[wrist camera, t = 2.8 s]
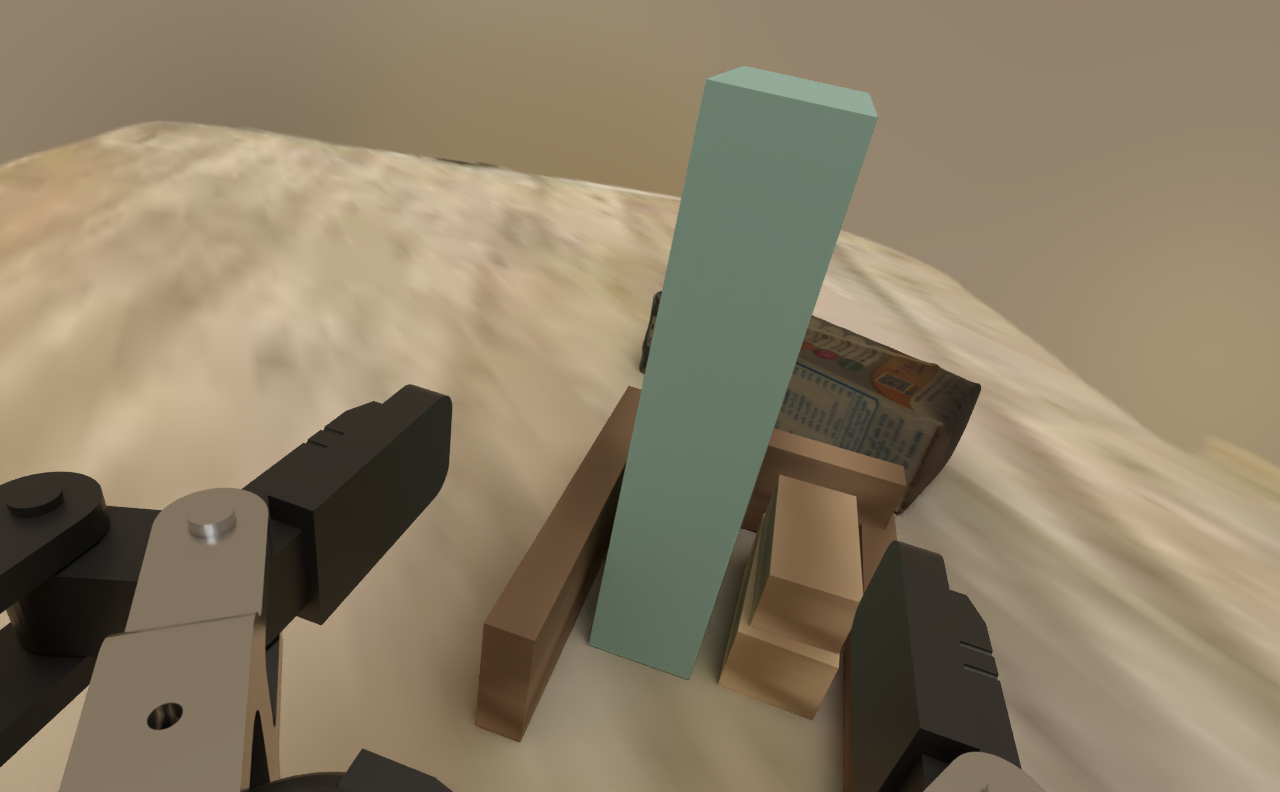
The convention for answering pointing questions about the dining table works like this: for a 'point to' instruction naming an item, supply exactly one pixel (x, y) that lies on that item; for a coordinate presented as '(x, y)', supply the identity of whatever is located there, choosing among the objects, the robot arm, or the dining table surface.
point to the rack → (579, 539)
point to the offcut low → (773, 658)
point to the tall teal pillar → (725, 347)
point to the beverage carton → (870, 401)
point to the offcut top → (808, 565)
